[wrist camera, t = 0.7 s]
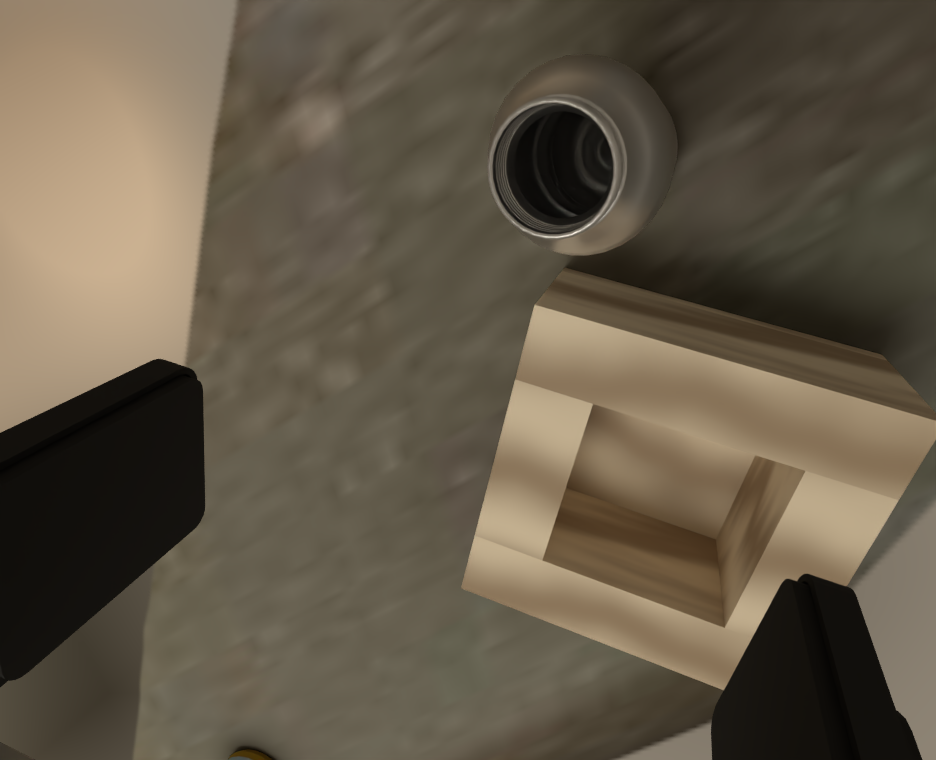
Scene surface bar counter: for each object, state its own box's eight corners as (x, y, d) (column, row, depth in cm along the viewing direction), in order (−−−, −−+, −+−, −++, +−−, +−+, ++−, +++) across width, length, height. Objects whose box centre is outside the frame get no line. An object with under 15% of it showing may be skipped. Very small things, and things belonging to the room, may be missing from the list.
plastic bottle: (591, 233, 36) (511, 332, 19) (535, 127, 35) (393, 123, 18) (699, 174, 34) (724, 225, 16) (642, 56, 33) (602, -31, 15)
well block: (564, 267, 38) (534, 304, 30) (882, 354, 34) (945, 423, 26) (499, 506, 45) (461, 588, 37) (753, 598, 42) (772, 709, 34)
